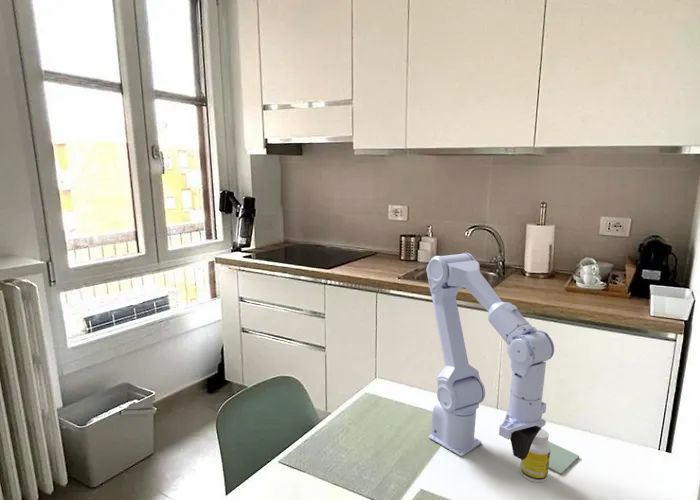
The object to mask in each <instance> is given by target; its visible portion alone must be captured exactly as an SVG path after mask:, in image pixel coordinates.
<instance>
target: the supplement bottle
mask: <svg viewBox="0 0 700 500" xmlns="http://www.w3.org/2000/svg"><path fill="white" fill-rule="evenodd" d="M549 434H550V433H548V431H547V430H546V429H544V428H543V427H541V430H540V431H539V432H538V433H537V435H536V436H535V438H534V440H533V442H532V445H531V447H530V450H529V452H528V455H527V457H526V458H525V459H524V460H521V459H520V464H519V465H520V466H519V471H520V474H521V476H522V477H524V478H525V479H527V480H529V481H531V482H535V483H542V482H545V481H546V479H547V478H548V475H549V469H548V467H549V458H550V451H551V447H550V444H549V443H548V441H549Z"/></svg>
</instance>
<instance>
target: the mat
mask: <svg viewBox="0 0 700 500" xmlns="http://www.w3.org/2000/svg"><path fill="white" fill-rule="evenodd" d="M548 443H549V444H550V447H551V451H550V458H549V467H548V471H549V470H550V471H552V472H553V473H555V474H557V475H559V476H562V475H563V474H564V473H565V472H566V471H567V470H568V469H569V468H570V467H571V466H573V464H574V463H575V462H577V461H578V460H579V458H580V455H578V454H576V453H575V452H572V451H570V450H568V449H566V448H563V447H562V446H559V445H557V444H555V443H553V442H550V441H549V440H548Z"/></svg>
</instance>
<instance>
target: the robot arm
mask: <svg viewBox="0 0 700 500" xmlns="http://www.w3.org/2000/svg"><path fill="white" fill-rule="evenodd" d="M425 269H426V270H425V271H426V275H427V282H428V286H429V287H428V288H429V291H430V295H431V298H432V299H431V300H432V305H433V310H434V316H435V321H436V326H437V330H438V331H437V332H438V337H439V343H440V347H441V352H442V359H443V364H444V368H442V370H441V372H440V373H439V374H438V376H437V377H436V383H437V391H436V397H437V401H436V403H435V404H434V406H433V409H432V414H431V415H432V417H431V428H430V431H431V432H430V434H429V435H428V438H429V439H430V440H432V441H433V442H434V443H435V442H436V443H437V444H439V445H441V446H442V447H444V448H445V449H447V450H450V451H451V452H453V453H455V455H458V456H459V457H464V456H465V455H467V454H468V453H469V452H471V451H472V450H474V449H475V448H477V447H478V446H479V445H481V444H482V440H481V439H479V438H477V437H475V433H476V432H475V430H476V417H477V416H476V415H477V409H479V408H480V404H481V403H482V402H484V400H485V398H486V389H485V385H484V384H483V383H484V382H482V379H481V378H480V374H479V373H480V372H479V370H478V369H476V368H475V367H474V366H472V365H470V364H469V360H468V355H467V354H468V353H467V349H466V343H465V340H464V339H465V338H464V333H463V328H462V327H463V326H462V323H461V318H460V313H459V307H458V302H457V295H458V293H459V291H460V290H462V288H464V289H466V291H468V293H470V295H472V296H473V297H474V299H476V300H477V302H478V303H479V304H480V305H481V306H482V307H483V308H484V309H485V310H486V311H487V312H488V314H487V320H488V322H489V324H491V326H492V327H493V328H494V330H496V332H497V333H498V334H499V336H500V337H501V338H502V339H503V341H504V342H505V343H506V347H507V350H506V351H507V354H508V357H509V359H510V368H511V371H512V372H511V383H510V393H509V404H508V409H507V411H506V413H505V416H504V419H503V421H502V423H500V425H499V429H498V436H501V437H502V438H505V440H506V439H507V440H510V444H511V449H512V454H513V456H514V457H516V458H518V459H519V460H520V461H521V460H524V459H525V458H526V457H527V455H528V452H529V450H530V447H531V445H532V442H533V440H534V438H535V436H536V435H537V433H538V432H539V431H540V430H541V428H543V427H544V426H546V424H547V421H546V420H545V419H543V414H545V413H546V411H547V403H546V402H543V395H544V383H545V375H546V367H547V361H548V360H549V361H550V360H551V359H552V358H553V356H554V353H555V345H554V341H553V340H552V338H551V337H550V335H549V334H548V332H546V331H545V330H541V329H537V327H535V326H532V324H531V323H529V321H527V319H526V318H525V317H524V315H522V313H520V311H519V310H518V307H517V306H516V305H515V304H513V303H511V302H509V301H508V302H507V301H506V302H504V301H502V299H501V298H500V297H499V295H498V294H497V293H496V291H495V290H494V289H493V286H491V285H490V283H489V282H488V281H487V279H486V277H484V276H483V274H482V272H481V267H480V262H478V261H477V260H476V259H475V257H474V256H473V255H472V254H471V253H469V252H463V253H459V254H449V255H435V256H432V257H431V259H430V260H429V262H428V264H427V265H426V268H425Z"/></svg>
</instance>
